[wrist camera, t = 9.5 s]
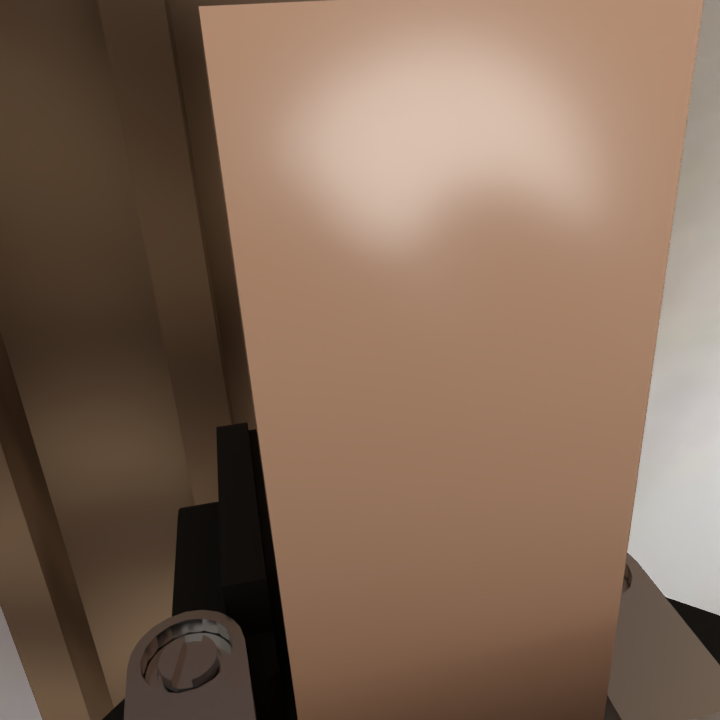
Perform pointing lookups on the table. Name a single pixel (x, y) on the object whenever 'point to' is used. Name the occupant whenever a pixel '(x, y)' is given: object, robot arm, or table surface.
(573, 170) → the clay strip
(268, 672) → the robot arm
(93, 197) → the wooden stepped riser
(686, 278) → the table surface
